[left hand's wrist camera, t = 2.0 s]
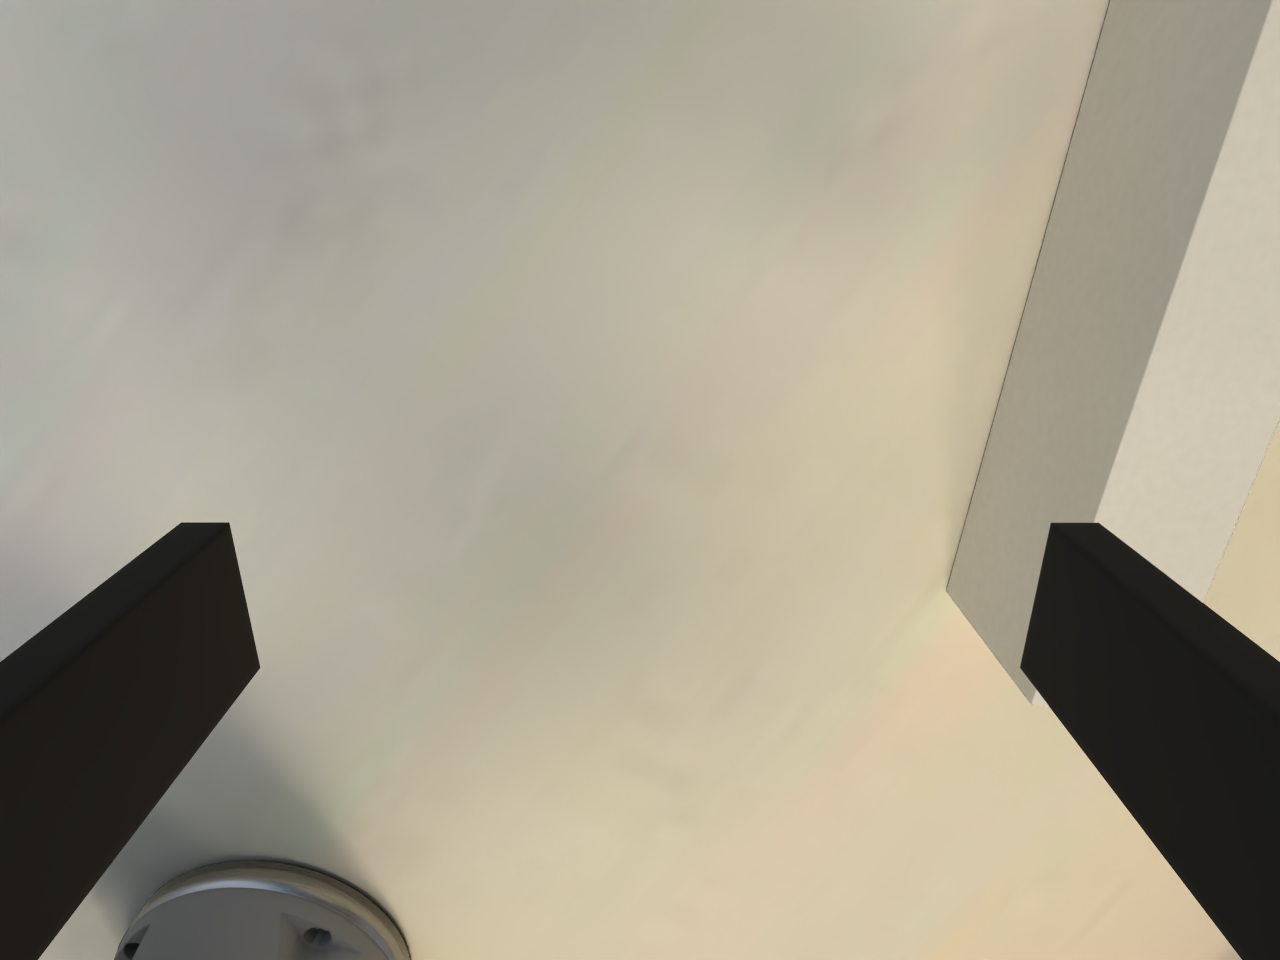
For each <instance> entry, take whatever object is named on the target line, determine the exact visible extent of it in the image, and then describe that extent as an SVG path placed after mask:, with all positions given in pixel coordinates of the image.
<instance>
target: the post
mask: <svg viewBox="0 0 1280 960" xmlns="http://www.w3.org/2000/svg"><path fill="white" fill-rule="evenodd" d="M1279 420H1280V0H1110V3H1109V7H1108V10H1107V14H1106V18H1105V21H1104V25H1103V29H1102V32H1101V36H1100V39H1099V43H1098V47H1097V50H1096V54H1095V57H1094V61H1093V65H1092V68H1091V72H1090V75H1089V79H1088V83H1087V86H1086V90H1085V93H1084V97H1083V101H1082V104H1081V108H1080V111H1079V115H1078V119H1077V122H1076V126H1075V129H1074V133H1073V137H1072V140H1071V144H1070V147H1069V151H1068V155H1067V158H1066V162H1065V165H1064V169H1063V173H1062V176H1061V180H1060V183H1059V187H1058V191H1057V194H1056V198H1055V201H1054V205H1053V209H1052V212H1051V216H1050V219H1049V223H1048V227H1047V230H1046V234H1045V237H1044V241H1043V245H1042V248H1041V252H1040V255H1039V259H1038V263H1037V266H1036V270H1035V273H1034V277H1033V281H1032V284H1031V288H1030V291H1029V295H1028V299H1027V302H1026V306H1025V310H1024V313H1023V317H1022V320H1021V324H1020V328H1019V331H1018V335H1017V338H1016V342H1015V346H1014V349H1013V353H1012V356H1011V360H1010V364H1009V367H1008V371H1007V374H1006V378H1005V382H1004V385H1003V389H1002V392H1001V396H1000V400H999V403H998V407H997V410H996V414H995V418H994V421H993V425H992V428H991V432H990V436H989V439H988V443H987V446H986V450H985V454H984V457H983V461H982V464H981V468H980V472H979V475H978V479H977V482H976V486H975V490H974V493H973V497H972V500H971V504H970V508H969V511H968V515H967V518H966V522H965V526H964V529H963V533H962V536H961V540H960V544H959V547H958V551H957V554H956V558H955V562H954V565H953V569H952V572H951V576H950V580H949V583H948V587H947V593H948V595H949V596H950V597H951V599H952V600H953V601H954V603H955V604H956V605H957V607H958V608H959V609H960V611H961V612H962V613H963V615H964V616H965V617H966V619H967V620H968V621H969V623H970V624H971V625H972V627H973V628H974V629H975V631H976V632H977V633H978V635H979V636H980V637H981V639H982V640H983V641H984V643H985V644H986V645H987V647H988V648H989V649H990V651H991V652H992V653H993V655H994V656H995V657H996V659H997V660H998V661H999V663H1000V664H1001V665H1002V667H1003V668H1004V669H1005V671H1006V672H1007V673H1008V675H1009V676H1010V677H1011V679H1012V680H1013V681H1014V683H1015V684H1016V685H1017V687H1018V688H1019V689H1020V691H1021V692H1022V693H1023V695H1024V696H1025V697H1026V699H1027V700H1028V701H1029V703H1030V704H1031V705H1036V706H1048V707H1049V705H1048V704H1047V703H1046V701H1045V700H1044V699H1043V697H1042V696H1041V695H1040V694H1039V692H1038V691H1037V690H1036V688H1035V687H1034V686H1033V684H1032V683H1031V682H1030V680H1029V679H1028V678H1027V676H1026V675H1025V674H1024V673H1023V671H1022V670H1021V669H1020V665H1021V660H1022V655H1023V650H1024V646H1025V641H1026V636H1027V632H1028V627H1029V622H1030V618H1031V613H1032V608H1033V604H1034V599H1035V594H1036V590H1037V585H1038V580H1039V575H1040V571H1041V566H1042V561H1043V557H1044V552H1045V547H1046V543H1047V538H1048V533H1049V529H1050V524H1051V523H1100V524H1101V525H1102V526H1104V527H1105V528H1106V529H1108V530H1109V531H1110V532H1111V533H1113V534H1114V535H1115V536H1117V537H1118V538H1119V539H1121V540H1122V541H1123V542H1124V543H1126V544H1127V545H1128V546H1130V547H1131V548H1132V549H1134V550H1135V551H1136V552H1137V553H1139V554H1140V555H1141V556H1143V557H1144V558H1145V559H1147V560H1148V561H1149V562H1150V563H1152V564H1153V565H1154V566H1156V567H1157V568H1158V569H1159V570H1161V571H1162V572H1163V573H1165V574H1166V575H1167V576H1169V577H1170V578H1171V579H1172V580H1174V581H1175V582H1176V583H1178V584H1179V585H1180V586H1182V587H1183V588H1184V589H1185V590H1187V591H1188V592H1189V593H1191V594H1192V595H1193V596H1195V597H1196V598H1197V599H1198V600H1200V601H1201V602H1202V603H1204V601H1205V598H1206V596H1207V593H1208V591H1209V589H1210V586H1211V584H1212V581H1213V579H1214V577H1215V574H1216V572H1217V569H1218V567H1219V564H1220V562H1221V560H1222V557H1223V555H1224V552H1225V550H1226V548H1227V545H1228V543H1229V540H1230V538H1231V536H1232V533H1233V531H1234V528H1235V526H1236V524H1237V521H1238V519H1239V516H1240V514H1241V512H1242V509H1243V507H1244V504H1245V502H1246V500H1247V497H1248V495H1249V492H1250V490H1251V487H1252V485H1253V483H1254V480H1255V478H1256V475H1257V473H1258V471H1259V468H1260V466H1261V463H1262V461H1263V459H1264V456H1265V454H1266V451H1267V449H1268V447H1269V444H1270V442H1271V439H1272V437H1273V435H1274V432H1275V430H1276V427H1277V425H1278V423H1279Z"/></svg>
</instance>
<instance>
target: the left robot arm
mask: <svg viewBox="0 0 1280 960" xmlns="http://www.w3.org/2000/svg"><path fill="white" fill-rule="evenodd" d="M259 669H260V665H259V660H258V655H257V650H256V646H255V641H254V636H253V632H252V627H251V622H250V618H249V613H248V608H247V604H246V599H245V594H244V590H243V585H242V580H241V575H240V571H239V566H238V561H237V557H236V552H235V547H234V543H233V538H232V533H231V529H230V524H229V523H180V524H179V525H178V526H176V527H175V528H174V529H172V530H171V531H170V532H169V533H167V534H166V535H165V536H163V537H162V538H161V539H159V540H158V541H157V542H156V543H154V544H153V545H152V546H150V547H149V548H148V549H146V550H145V551H144V552H143V553H141V554H140V555H139V556H137V557H136V558H135V559H133V560H132V561H131V562H130V563H128V564H127V565H126V566H124V567H123V568H122V569H121V570H119V571H118V572H117V573H115V574H114V575H113V576H111V577H110V578H109V579H108V580H106V581H105V582H104V583H102V584H101V585H100V586H98V587H97V588H96V589H95V590H93V591H92V592H91V593H89V594H88V595H87V596H85V597H84V598H83V599H82V600H80V601H79V602H78V603H76V604H75V605H74V606H73V607H71V608H70V609H69V610H67V611H66V612H65V613H63V614H62V615H61V616H60V617H58V618H57V619H56V620H54V621H53V622H52V623H50V624H49V625H48V626H47V627H45V628H44V629H43V630H41V631H40V632H39V633H37V634H36V635H35V636H34V637H32V638H31V639H30V640H28V641H27V642H26V643H24V644H23V645H22V646H21V647H19V648H18V649H17V650H15V651H14V652H13V653H12V654H10V655H9V656H8V657H6V658H5V659H4V660H2V661H1V662H0V960H38V959H39V957H40V956H41V955H42V953H43V952H44V951H45V950H46V948H47V947H48V946H49V944H50V943H51V942H52V940H53V939H54V938H55V936H56V935H57V934H58V932H59V931H60V930H61V929H62V927H63V926H64V925H65V923H66V922H67V921H68V919H69V918H70V917H71V915H72V914H73V913H74V911H75V910H76V909H77V908H78V906H79V905H80V904H81V902H82V901H83V900H84V898H85V897H86V896H87V894H88V893H89V892H90V890H91V889H92V888H93V887H94V885H95V884H96V883H97V881H98V880H99V879H100V877H101V876H102V875H103V873H104V872H105V871H106V869H107V868H108V867H109V866H110V864H111V863H112V862H113V860H114V859H115V858H116V856H117V855H118V854H119V852H120V851H121V850H122V848H123V847H124V846H125V845H126V843H127V842H128V841H129V839H130V838H131V837H132V835H133V834H134V833H135V831H136V830H137V829H138V827H139V826H140V825H141V824H142V822H143V821H144V820H145V818H146V817H147V816H148V814H149V813H150V812H151V810H152V809H153V808H154V806H155V805H156V804H157V803H158V801H159V800H160V799H161V797H162V796H163V795H164V793H165V792H166V791H167V789H168V788H169V787H170V785H171V784H172V783H173V782H174V780H175V779H176V778H177V776H178V775H179V774H180V772H181V771H182V770H183V768H184V767H185V766H186V764H187V763H188V762H189V761H190V759H191V758H192V757H193V755H194V754H195V753H196V751H197V750H198V749H199V747H200V746H201V745H202V743H203V742H204V741H205V740H206V738H207V737H208V736H209V734H210V733H211V732H212V730H213V729H214V728H215V726H216V725H217V724H218V722H219V721H220V720H221V719H222V717H223V716H224V715H225V713H226V712H227V711H228V709H229V708H230V707H231V705H232V704H233V703H234V701H235V700H236V699H237V698H238V696H239V695H240V694H241V692H242V691H243V690H244V688H245V687H246V686H247V684H248V683H249V682H250V680H251V679H252V678H253V676H254V675H255V674H256V673H257V671H258V670H259ZM1020 669H1021V670H1022V671H1023V673H1024V674H1025V675H1026V676H1027V678H1028V679H1029V680H1030V682H1031V683H1032V684H1033V686H1034V687H1035V688H1036V690H1037V691H1038V692H1039V694H1040V695H1041V696H1042V697H1043V699H1044V700H1045V701H1046V703H1047V704H1048V705H1049V707H1050V708H1051V709H1052V711H1053V712H1054V713H1055V715H1056V716H1057V717H1058V719H1059V720H1060V721H1061V722H1062V724H1063V725H1064V726H1065V728H1066V729H1067V730H1068V732H1069V733H1070V734H1071V736H1072V737H1073V738H1074V740H1075V741H1076V742H1077V743H1078V745H1079V746H1080V747H1081V749H1082V750H1083V751H1084V753H1085V754H1086V755H1087V757H1088V758H1089V759H1090V761H1091V762H1092V763H1093V764H1094V766H1095V767H1096V768H1097V770H1098V771H1099V772H1100V774H1101V775H1102V776H1103V778H1104V779H1105V780H1106V782H1107V783H1108V784H1109V785H1110V787H1111V788H1112V789H1113V791H1114V792H1115V793H1116V795H1117V796H1118V797H1119V799H1120V800H1121V801H1122V803H1123V804H1124V805H1125V806H1126V808H1127V809H1128V810H1129V812H1130V813H1131V814H1132V816H1133V817H1134V818H1135V820H1136V821H1137V822H1138V824H1139V825H1140V826H1141V827H1142V829H1143V830H1144V831H1145V833H1146V834H1147V835H1148V837H1149V838H1150V839H1151V841H1152V842H1153V843H1154V845H1155V846H1156V847H1157V848H1158V850H1159V851H1160V852H1161V854H1162V855H1163V856H1164V858H1165V859H1166V860H1167V862H1168V863H1169V864H1170V866H1171V867H1172V868H1173V869H1174V871H1175V872H1176V873H1177V875H1178V876H1179V877H1180V879H1181V880H1182V881H1183V883H1184V884H1185V885H1186V887H1187V888H1188V889H1189V890H1190V892H1191V893H1192V894H1193V896H1194V897H1195V898H1196V900H1197V901H1198V902H1199V904H1200V905H1201V906H1202V908H1203V909H1204V910H1205V911H1206V913H1207V914H1208V915H1209V917H1210V918H1211V919H1212V921H1213V922H1214V923H1215V925H1216V926H1217V927H1218V929H1219V930H1220V931H1221V932H1222V934H1223V935H1224V936H1225V938H1226V939H1227V940H1228V942H1229V943H1230V944H1231V946H1232V947H1233V948H1234V950H1235V951H1236V952H1237V953H1238V955H1239V956H1240V957H1241V959H1242V960H1280V662H1279V661H1278V660H1276V659H1275V658H1274V657H1272V656H1271V655H1270V654H1268V653H1267V652H1266V651H1265V650H1263V649H1262V648H1261V647H1259V646H1258V645H1257V644H1256V643H1254V642H1253V641H1252V640H1250V639H1249V638H1248V637H1246V636H1245V635H1244V634H1243V633H1241V632H1240V631H1239V630H1237V629H1236V628H1235V627H1233V626H1232V625H1231V624H1230V623H1228V622H1227V621H1226V620H1224V619H1223V618H1222V617H1220V616H1219V615H1218V614H1217V613H1215V612H1214V611H1213V610H1211V609H1210V608H1209V607H1208V606H1206V605H1205V604H1204V603H1202V602H1201V601H1200V600H1198V599H1197V598H1196V597H1195V596H1193V595H1192V594H1191V593H1189V592H1188V591H1187V590H1185V589H1184V588H1183V587H1182V586H1180V585H1179V584H1178V583H1176V582H1175V581H1174V580H1172V579H1171V578H1170V577H1169V576H1167V575H1166V574H1165V573H1163V572H1162V571H1161V570H1159V569H1158V568H1157V567H1156V566H1154V565H1153V564H1152V563H1150V562H1149V561H1148V560H1147V559H1145V558H1144V557H1143V556H1141V555H1140V554H1139V553H1137V552H1136V551H1135V550H1134V549H1132V548H1131V547H1130V546H1128V545H1127V544H1126V543H1124V542H1123V541H1122V540H1121V539H1119V538H1118V537H1117V536H1115V535H1114V534H1113V533H1111V532H1110V531H1109V530H1108V529H1106V528H1105V527H1104V526H1102V525H1101V524H1100V523H1051V524H1050V529H1049V533H1048V538H1047V543H1046V547H1045V552H1044V557H1043V561H1042V566H1041V571H1040V575H1039V580H1038V585H1037V590H1036V594H1035V599H1034V604H1033V608H1032V613H1031V618H1030V622H1029V627H1028V632H1027V636H1026V641H1025V646H1024V650H1023V655H1022V660H1021V665H1020ZM114 960H410V958H409V954H408V951H407V948H406V945H405V943H404V941H403V939H402V937H401V935H400V933H399V932H398V930H397V929H396V927H395V926H394V924H393V923H392V922H391V921H390V919H389V918H388V917H387V916H386V915H385V914H384V913H383V912H382V911H381V910H380V909H379V908H378V907H377V906H376V905H375V904H374V903H372V902H371V901H370V900H369V899H368V898H366V897H365V896H363V895H362V894H360V893H359V892H358V891H356V890H354V889H353V888H351V887H349V886H347V885H346V884H344V883H342V882H340V881H338V880H336V879H333V878H331V877H329V876H326V875H324V874H321V873H319V872H315V871H312V870H309V869H306V868H302V867H298V866H294V865H289V864H283V863H277V862H267V861H232V862H224V863H218V864H213V865H208V866H204V867H201V868H198V869H194V870H192V871H189V872H187V873H184V874H182V875H180V876H178V877H176V878H175V879H173V880H171V881H169V882H168V883H167V884H165V885H164V886H162V887H161V888H160V889H159V890H158V891H156V892H155V893H154V894H153V895H152V896H151V897H150V899H149V900H148V901H147V902H146V904H145V905H144V906H143V908H142V909H141V911H140V912H139V914H138V915H137V917H136V918H135V920H134V921H133V923H132V924H131V926H130V927H129V929H128V930H127V932H126V933H125V935H124V936H123V938H122V940H121V942H120V945H119V947H118V950H117V953H116V955H115V958H114Z"/></svg>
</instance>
